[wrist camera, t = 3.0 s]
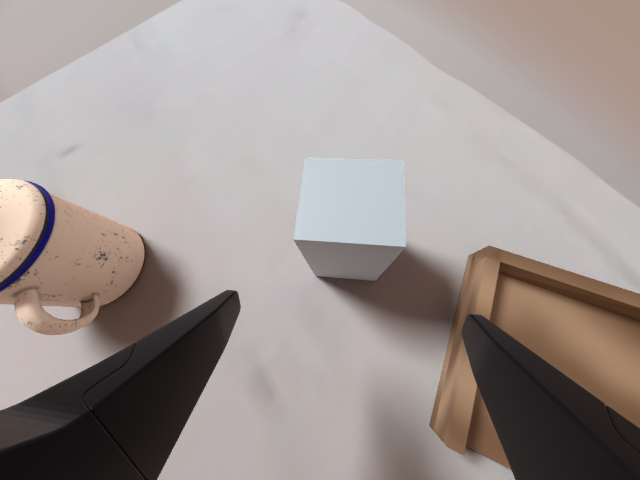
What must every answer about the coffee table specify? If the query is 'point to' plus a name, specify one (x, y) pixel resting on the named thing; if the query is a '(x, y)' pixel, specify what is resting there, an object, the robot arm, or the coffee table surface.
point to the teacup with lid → (61, 257)
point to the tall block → (351, 216)
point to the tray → (539, 341)
